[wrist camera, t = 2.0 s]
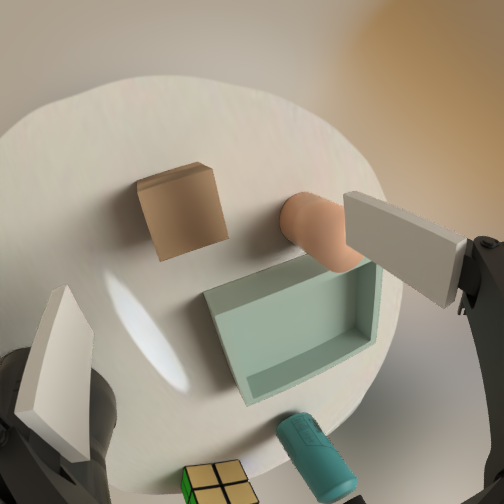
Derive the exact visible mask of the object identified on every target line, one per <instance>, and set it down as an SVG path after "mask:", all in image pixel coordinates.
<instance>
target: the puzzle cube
mask: <svg viewBox="0 0 504 504" xmlns="http://www.w3.org/2000/svg"><path fill="white" fill-rule="evenodd" d="M182 478H183V479H182V484H181V489H182V492H183V495H184V499H185V502H186V504H259V500H258V498H257V496H256V494H255V492H254V490H253V488H252V486H251V484H250V482H248V477H247V475H246V473H245V471H244V469H243V467H242V465H241V462H240V460H232V461H226V462H219V463H214V464H213V465H212V464H204V465H195V466H185V468H184V472H183V477H182Z"/></svg>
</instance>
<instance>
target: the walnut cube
mask: <svg viewBox="0 0 504 504" xmlns="http://www.w3.org/2000/svg"><path fill="white" fill-rule="evenodd" d="M137 194H138V197H139V201H140V204H141V207H142V210H143V213H144V216H145V219H146V223H147V226H148V229H149V232H150V235H151V237H152V240H153V243H154V246H155V249H156V252H157V255H158V257H159V260H160V262H161V261H164V260H167V259H170V258H173V257H176V256H179V255H182V254H184V253H187V252H190V251H193V250H196V249H199V248H202V247H205V246H208V245H211V244H214V243H217V242H220V241H223V240H226V239H229V238H228V233H227V229H226V225H225V221H224V217H223V212H222V208H221V204H220V200H219V195H218V191H217V187H216V182H215V178H214V174H213V169H212V168H209V167H207V166H205V165H203V164H201V163H199V162H195V163H192V164H188V165H185V166H182V167H178V168H175V169H171V170H168V171H165V172H162V173H159V174H155V175H152V176H149V177H146V178H143V179H140V180H137Z"/></svg>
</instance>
